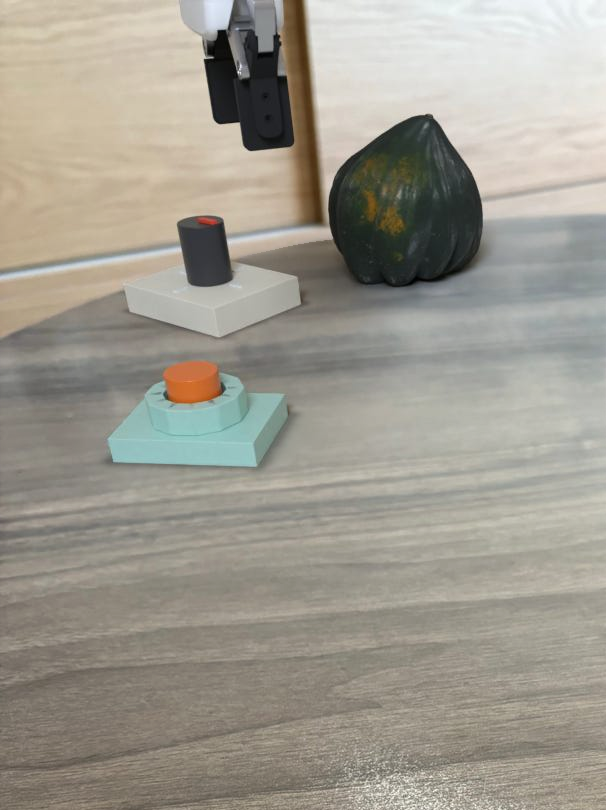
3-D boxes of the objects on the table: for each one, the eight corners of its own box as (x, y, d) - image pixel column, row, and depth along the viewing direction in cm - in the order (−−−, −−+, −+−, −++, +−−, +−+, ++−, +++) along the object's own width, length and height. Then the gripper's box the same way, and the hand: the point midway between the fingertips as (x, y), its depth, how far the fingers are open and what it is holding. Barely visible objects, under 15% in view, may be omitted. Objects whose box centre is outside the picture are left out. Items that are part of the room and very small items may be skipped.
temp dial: (178, 281, 92) (166, 219, 89) (212, 269, 95) (201, 209, 91) (208, 289, 90) (197, 226, 87) (242, 277, 93) (232, 215, 89)
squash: (275, 229, 96) (361, 99, 87) (351, 197, 107) (435, 79, 98) (382, 342, 98) (478, 227, 88) (446, 299, 109) (537, 193, 100)
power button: (160, 405, 69) (155, 380, 68) (179, 384, 72) (174, 359, 71) (212, 407, 68) (207, 382, 67) (229, 385, 71) (224, 361, 70)
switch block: (114, 468, 70) (100, 413, 67) (157, 418, 76) (145, 366, 74) (258, 473, 69) (248, 417, 66) (289, 421, 75) (281, 369, 73)
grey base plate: (130, 316, 94) (122, 281, 92) (213, 286, 100) (207, 253, 98) (219, 343, 88) (213, 306, 86) (301, 309, 94) (297, 274, 92)
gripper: (119, -187, 64) (174, 118, 74) (163, -205, 51) (222, 167, 61) (239, -188, 66) (276, 108, 76) (310, -205, 53) (343, 153, 63)
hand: (252, 134), depth 69 cm, fingers open, 9 cm apart
